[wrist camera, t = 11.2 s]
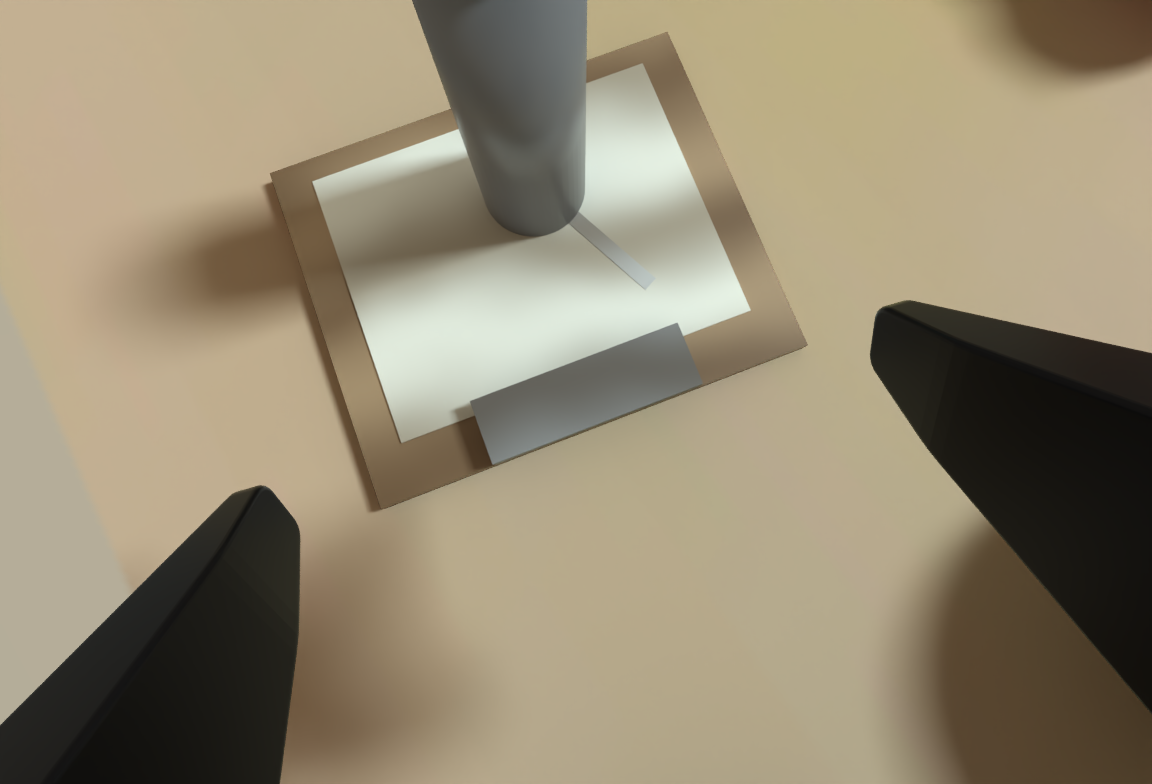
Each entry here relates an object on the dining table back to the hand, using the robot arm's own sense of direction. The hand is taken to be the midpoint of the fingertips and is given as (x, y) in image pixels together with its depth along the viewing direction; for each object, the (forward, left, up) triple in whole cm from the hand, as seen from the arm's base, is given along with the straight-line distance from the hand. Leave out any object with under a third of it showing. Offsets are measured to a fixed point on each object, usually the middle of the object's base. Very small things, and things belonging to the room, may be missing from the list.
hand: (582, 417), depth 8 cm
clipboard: (+8, -1, -14) cm, 16 cm away
